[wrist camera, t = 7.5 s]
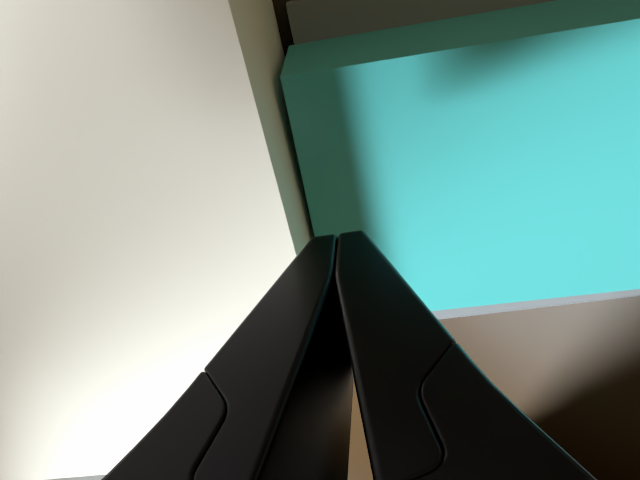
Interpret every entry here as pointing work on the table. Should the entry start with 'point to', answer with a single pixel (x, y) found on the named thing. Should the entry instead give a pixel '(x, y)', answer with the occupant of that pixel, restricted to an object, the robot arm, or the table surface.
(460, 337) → the table surface
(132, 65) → the white flat block
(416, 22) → the mat
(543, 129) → the turquoise slab
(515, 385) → the table surface
